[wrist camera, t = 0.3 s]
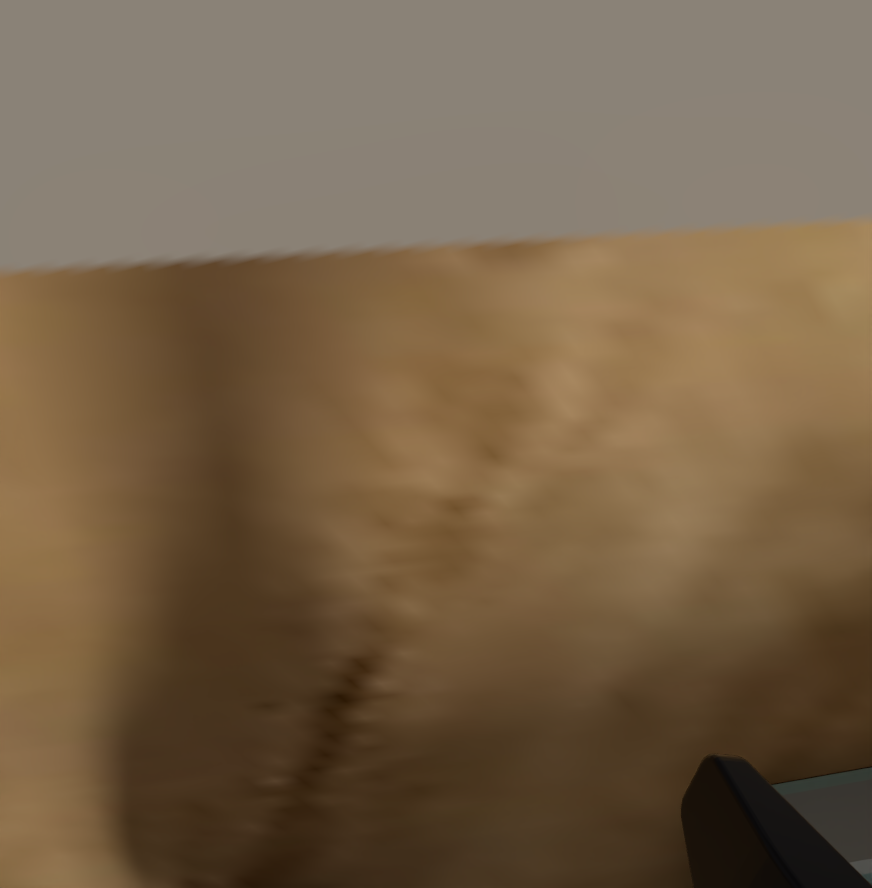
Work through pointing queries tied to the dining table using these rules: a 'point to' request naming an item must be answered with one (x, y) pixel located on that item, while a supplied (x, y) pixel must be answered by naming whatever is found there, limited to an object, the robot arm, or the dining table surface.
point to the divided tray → (838, 812)
